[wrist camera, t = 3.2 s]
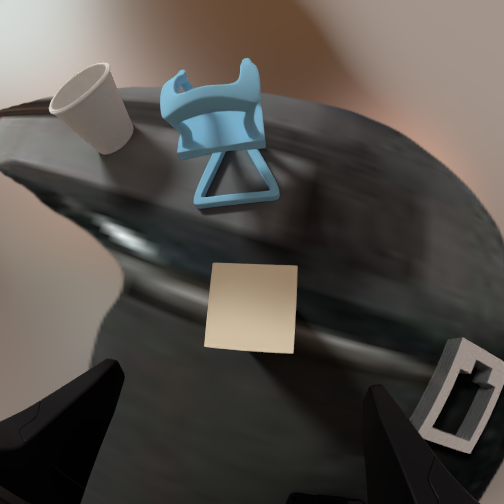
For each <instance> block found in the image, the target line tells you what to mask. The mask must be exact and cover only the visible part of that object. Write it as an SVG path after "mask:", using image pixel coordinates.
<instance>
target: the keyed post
mask: <svg viewBox="0 0 504 504" xmlns="http://www.w3.org/2000/svg"><path fill="white" fill-rule="evenodd" d="M296 295H297V266H291V265H260V264H231V263H213V268H212V276H211V285H210V294H209V303H208V313H207V323H206V333H205V344H204V347H212V348H222V349H232V350H243V351H256V352H272V353H293V351H294V335H295V317H296Z"/></svg>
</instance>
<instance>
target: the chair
mask: <svg viewBox="0 0 504 504" xmlns="http://www.w3.org/2000/svg"><path fill="white" fill-rule="evenodd" d="M181 85H182V87H183V89H184V91H185V92H184V93H179V94H178V90H179V87H180V86H181ZM160 105H161V114H162V117H163V119H165V120H166V121H167V122H168V123H169V124H171V125H172V126H173V127H174V128H175V129H177V130H178V131H179V132H180V138H179V144H178V151H177V154H178V155H179V157H180V159H181V160H184V159H189V158H195V157H200V156H204V155H208V154H212V153H213V154H212V156H211V158H210V160H209V163H208V165H207V167H206V169H205V171H204V173H203V176H202V178H201V180H200V182H199V185H198V187H197V190H196V193H195V196H194V204H195V206H196V207H197V208H199V209H203V208H211V207H219V206H227V205H236V204H245V203H255V202H265V201H275V200H278V199H279V197H280V194H279V188H278V185H277V183H276V181H275V179H274V177H273V175H272V173H271V171H270V169H269V168H268V166H267V164H266V162H265V161H264V159H263V157H262V155H261V154H260V152H259V150H258V149H262V148H266V144H265V134H264V125H263V115H262V105H261V96H260V77H259V72H258V69H257V67H256V66H255V65H254V64H253V63H252V62H251V61H250V59H249V58H245V59H243V61H242V64H241V66H240V76H239V79H238V80H237V81H236V82H235V83H232V84H224V85H209V86H202V87H198V88H195V89H194V88H193V87H192V85H191V84H190V83H189V81H188V79H187V75H186V72H185V70H181V71H179V72H178V74H177V75H176V76H175V77H173V78H172V79H170V80H169V81H167V82H166V83H165V85H164V86H163V88H162V91H161V98H160ZM237 150H247V151H248V153H249V155H250V157H251V159H252V160H253V162H254V164H255V165H256V167H257V169H258V171H259V172H260V174H261V176H262V177H263V179H264V181H265V182H266V184H267V186H268V187H269V189H270V190H268V191H260V192H249V193H239V194H230V195H221V196H212V197H205V195H206V193H207V191H208V189H209V187H210V185H211V183H212V181H213V178H214V176H215V174H216V172H217V170H218V168H219V166H220V164H221V162H222V159H223V157H224V155H225V152H226V151H237Z"/></svg>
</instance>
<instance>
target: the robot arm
mask: <svg viewBox="0 0 504 504" xmlns="http://www.w3.org/2000/svg"><path fill="white" fill-rule="evenodd" d="M124 378H125V376H124V372H123V370H122V368H121V366H120V364H119V362H118V361H117V360H114V359H110V358H108V359H106V360H104V361H102V362H101V363H99V364H98V365H96V366H95V367H93V368H91V369H90V370H88V371H87V372H85V373H83V374H82V375H80V376H79V377H77V378H76V379H74V380H73V381H71V382H69V383H68V384H66V385H64V386H63V387H61V388H60V389H58V390H56V391H55V392H53V393H52V394H50V395H48V396H47V397H45V398H44V399H42V400H41V401H39V402H37V403H35V404H34V405H32V406H30V407H29V408H27V409H25V410H23V411H21V412H19V413H17V414H15V415H13V416H11V417H9V418H7V419H5V420H3V421H1V422H0V504H80V503H81V500H82V497H83V494H84V491H85V488H86V485H87V482H88V479H89V477H90V474H91V471H92V468H93V465H94V463H95V460H96V457H97V455H98V452H99V449H100V447H101V444H102V442H103V439H104V437H105V434H106V432H107V429H108V427H109V424H110V422H111V419H112V417H113V414H114V412H115V409H116V406H117V402H118V399H119V395H120V392H121V389H122V386H123V382H124ZM363 444H364V455H365V466H366V479H367V494H368V504H480V503H478V502H477V501H476V500H475V499H474V498H473V497H472V496H471V495H470V494H469V493H468V492H467V491H466V490H465V489H464V488H463V487H462V486H461V485H460V484H459V483H458V482H457V481H456V480H455V478H454V477H453V476H452V475H451V474H450V473H449V472H448V470H447V469H446V468H445V467H444V465H443V464H442V463H441V461H440V460H439V459H438V457H437V456H435V454H434V452H433V451H432V449H431V448H430V447H429V445H428V444H427V443H426V441H425V440H424V439H423V437H422V436H421V435H420V433H419V432H418V431H417V429H416V428H415V427H414V425H413V424H412V423H411V422H410V420H409V419H408V418H407V416H406V415H405V414H404V412H403V411H402V410H401V408H400V407H399V406H398V404H397V403H396V402H395V401H394V399H393V398H392V397H391V395H390V394H389V393H388V392H387V390H386V389H385V388H384V386H383V385H380V384H379V385H371V386H370V387H369V389H368V391H367V393H366V396H365V398H364V402H363ZM293 497H298V498H296V499H293ZM358 503H359V504H363V502H362V501H361V500H359V499H346V498H345V497H336V496H327V495H319V494H318V495H310V494H303V493H297V492H294V493H291V494H290V495H289V497H288V499H287V501H286V503H285V504H358Z"/></svg>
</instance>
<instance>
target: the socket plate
mask: <svg viewBox="0 0 504 504" xmlns="http://www.w3.org/2000/svg"><path fill="white" fill-rule="evenodd" d="M473 367H475V368H477V370H476V372H475V375H474V377H473V380H472V382H474V383H476V384H478V385H480V387H479V389H478V391H477V394H476V396H475V398H474V400H473V402H472V405H471V407H470V409H469V411H468V413H467V415H466V417H465V419H464V421H463V423H462V425H461V427H460V428H459V430H458V432H457V434H456V435H453V434H450V433H447V432H445V431H442V430H439V429H437V428H434V427H432V426H433V424H434V423H435V421H436V419H437V417H438V415H439V413H440V412H441V410H442V408H443V406H444V404H445V402H446V400H447V398H448V396H449V394H450V391H451V389H452V387H453V385H454V383H455V381H456V378H457V376H458V374H459V373H464V374H471V372H472V369H473ZM503 384H504V362H503V361H502V360H500V359H498V358H497V357H495V356H493V355H492V354H490V353H488V352H487V351H485V350H483V349H482V348H480V347H478V346H477V345H475V344H473V343H471V342H470V341H468V340H466V339H465V338H463V337H462V338H456V339H449V340H447V343H446V345H445V348H444V350H443V353H442V355H441V357H440V360H439V362H438V364H437V367H436V369H435V371H434V373H433V375H432V378H431V380H430V382H429V384H428V386H427V388H426V390H425V392H424V394H423V396H422V398H421V400H420V401H419V403H418V405H417V407H416V409H415V411H414V412H413V414H412V416H411V418H410V419H409V420H410V422H411V423H412V424H413V425H414V427H415V428H416V429H417V431H418V432H419V433H420V435H421V436H422V437H423V438H424V439H426V440H429V441H432V442H435V443H438V444H441V445H444V446H447V447H450V448H453V449H456V450H459V451H462V452H465V453H469V454H470V453H471V451H472V450H473V448H474V446H475V444H476V443H477V441H478V439H479V437H480V435H481V433H482V431H483V429H484V427H485V425H486V423H487V421H488V419H489V417H490V415H491V413H492V411H493V409H494V406H495V404H496V402H497V399H498V397H499V394H500V392H501V390H502V387H503Z"/></svg>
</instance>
